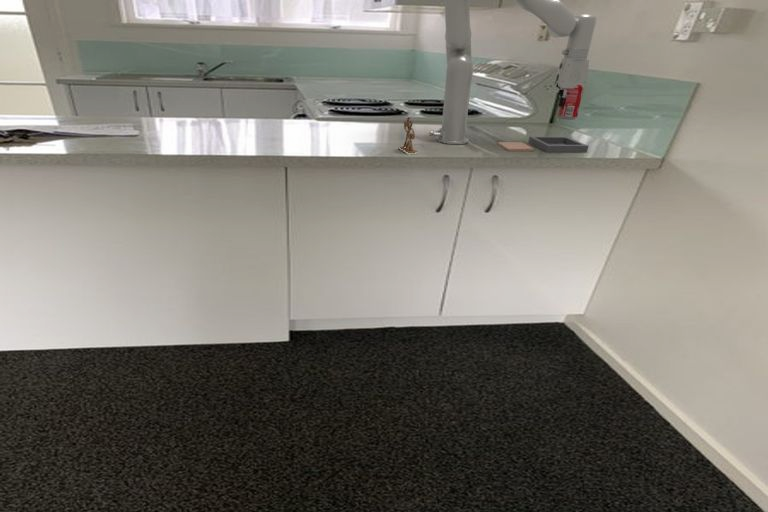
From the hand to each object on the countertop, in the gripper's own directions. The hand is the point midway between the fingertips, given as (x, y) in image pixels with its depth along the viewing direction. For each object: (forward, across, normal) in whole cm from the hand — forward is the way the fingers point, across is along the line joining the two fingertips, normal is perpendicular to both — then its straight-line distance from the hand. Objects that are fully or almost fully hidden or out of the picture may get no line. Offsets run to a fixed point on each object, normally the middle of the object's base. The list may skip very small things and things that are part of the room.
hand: (563, 108), depth 157 cm
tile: (+15, -16, 0) cm, 22 cm away
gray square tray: (+14, +1, 0) cm, 14 cm away
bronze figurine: (+16, -59, -7) cm, 62 cm away
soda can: (+4, +2, 0) cm, 4 cm away
